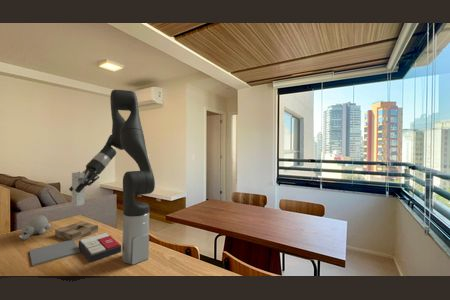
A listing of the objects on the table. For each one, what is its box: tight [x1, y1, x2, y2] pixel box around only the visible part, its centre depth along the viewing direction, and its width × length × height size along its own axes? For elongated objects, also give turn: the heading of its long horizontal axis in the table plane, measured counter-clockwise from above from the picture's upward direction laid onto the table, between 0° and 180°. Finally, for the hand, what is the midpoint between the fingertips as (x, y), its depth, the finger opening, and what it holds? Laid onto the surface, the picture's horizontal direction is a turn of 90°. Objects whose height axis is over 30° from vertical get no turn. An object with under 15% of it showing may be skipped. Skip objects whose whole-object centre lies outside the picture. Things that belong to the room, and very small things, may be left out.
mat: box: [28, 240, 82, 268], centre depth 82 cm, size 14×14×1 cm
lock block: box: [54, 221, 99, 242], centre depth 98 cm, size 12×12×3 cm
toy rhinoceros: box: [19, 214, 52, 241], centre depth 95 cm, size 7×12×8 cm, turn 172°
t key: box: [71, 171, 86, 207], centre depth 98 cm, size 6×4×15 cm, turn 68°
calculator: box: [78, 232, 122, 264], centre depth 84 cm, size 11×4×15 cm
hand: (73, 191), depth 96 cm, fingers closed on t key, 3 cm apart
